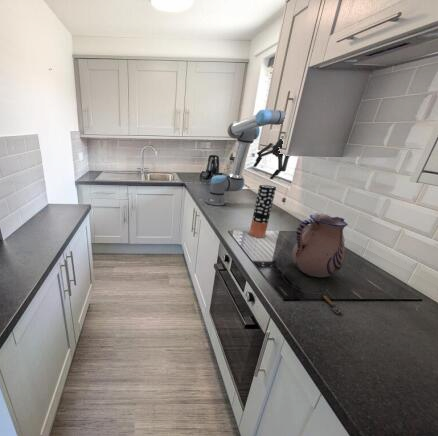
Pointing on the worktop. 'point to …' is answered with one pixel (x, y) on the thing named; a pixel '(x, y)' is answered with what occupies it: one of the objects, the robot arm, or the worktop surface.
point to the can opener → (332, 305)
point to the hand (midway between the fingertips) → (262, 172)
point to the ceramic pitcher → (320, 245)
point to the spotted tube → (264, 203)
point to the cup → (258, 229)
